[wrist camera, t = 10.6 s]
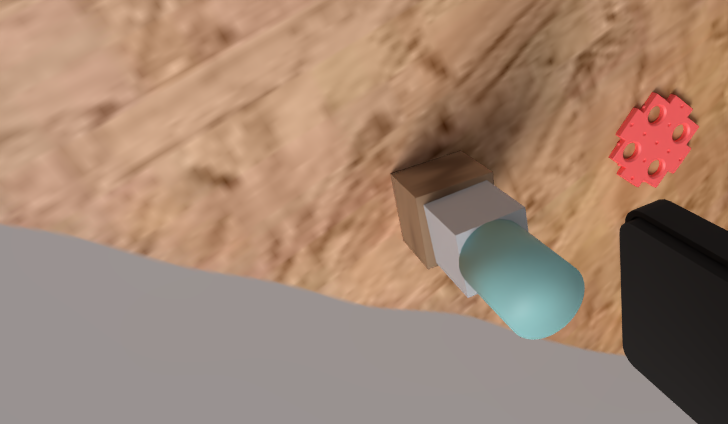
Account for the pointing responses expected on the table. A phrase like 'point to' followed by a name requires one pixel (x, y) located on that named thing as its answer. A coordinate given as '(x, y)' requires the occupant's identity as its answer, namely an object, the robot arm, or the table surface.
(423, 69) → the table surface
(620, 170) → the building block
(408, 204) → the walnut base block
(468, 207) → the grey top block
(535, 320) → the teal cylinder
